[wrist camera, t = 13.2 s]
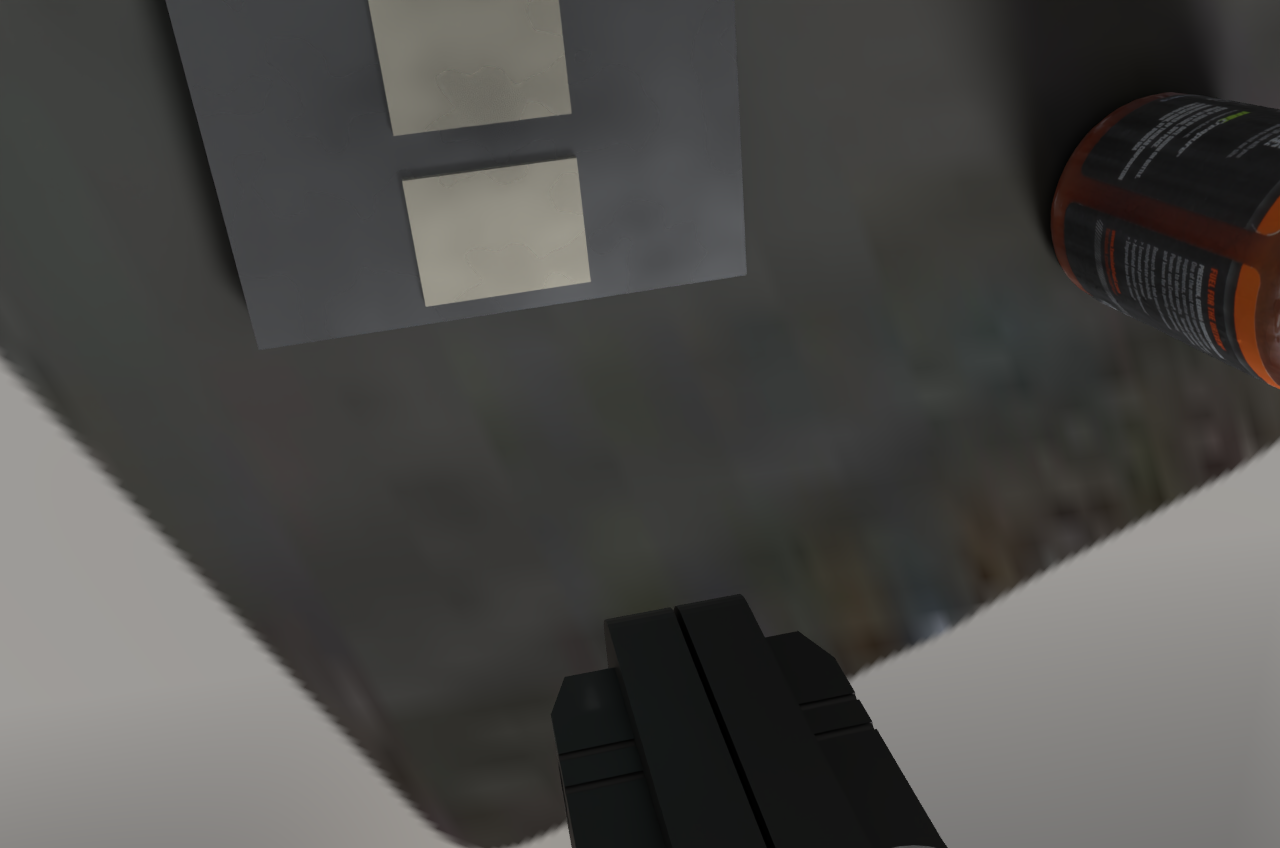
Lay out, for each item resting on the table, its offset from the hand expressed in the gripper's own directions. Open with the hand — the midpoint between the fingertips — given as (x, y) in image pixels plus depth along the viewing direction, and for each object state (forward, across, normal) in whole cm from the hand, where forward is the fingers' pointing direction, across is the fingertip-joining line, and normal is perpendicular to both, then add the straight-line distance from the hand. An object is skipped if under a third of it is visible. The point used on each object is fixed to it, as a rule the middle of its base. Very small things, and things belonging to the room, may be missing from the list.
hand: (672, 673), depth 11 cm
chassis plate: (+17, +1, -5) cm, 18 cm away
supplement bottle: (+18, -18, +1) cm, 25 cm away
